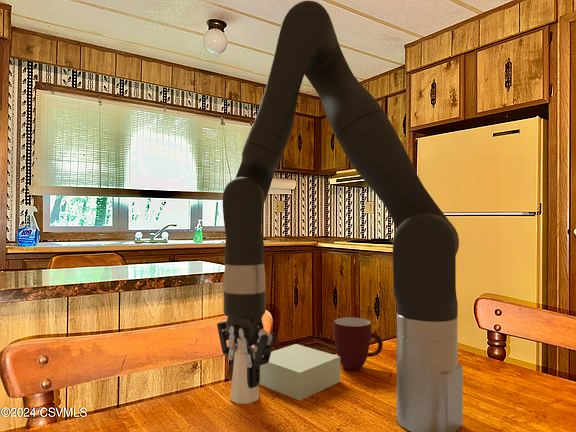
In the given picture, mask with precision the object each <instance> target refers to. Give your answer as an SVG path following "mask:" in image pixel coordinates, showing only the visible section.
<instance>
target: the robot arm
mask: <svg viewBox="0 0 576 432" xmlns="http://www.w3.org/2000/svg"><path fill="white" fill-rule="evenodd" d="M304 77H306V79H307V80H308V81H309V83H310V84H311V86H312V87H313V89H314V90H315V93H317V95H318V97H319V98H320V102H321V103H322V106H323V110H324V112H325V115H326V119H327V121H328V123H329V126H330V127H331V129H332V132H333V134H334V136H335V138H336V140H337V142H338V143H339V146H340V148H341V149H342V151H343V152H344V155H345V157H346V159H347V160H348V162H349V163H350V164H351V166H352V167H353V169H354V170H355V171H356V172H357V173H358V174H359V176H360V177H361V178H362V180H364V182H365V183H366V184H367V185H368V187H369V188H370V189H371V190H372V191H373V192H374V193H375V195H376V196H377V197H378V198H379V200H380V201H381V202H382V203H383V206H384V207H385V209H386V210H387V212H388V215H389V216H390V218H391V220H392V222H393V224H394V226H395V229H396V230H395V233H394V235H393V241H392V277H393V278H392V280H393V281H392V282H393V284H392V286H393V295H394V299H395V303H396V421H397V424H398V425H400V426H401V427H402V428H404V429H405V430H407V431H409V432H457V431H458V430H459V429H460V428H462V427H463V423H464V421H463V419H464V417H463V416H464V415H463V411H464V410H463V407H464V406H463V405H464V404H463V401H464V399H463V396H464V394H463V392H464V391H463V390H464V389H463V388H464V387H463V383H464V381H463V379H464V378H463V372H464V371H463V365H462V364H460V363H458V360H459V359H458V315H459V314H458V313H459V311H458V310H459V309H458V308H459V307H458V305H459V304H458V298H457V290H456V288H457V287H456V286H457V285H456V284H457V283H456V280H457V279H456V277H457V275H456V272H457V270H456V269H457V267H456V256H457V253H458V251H459V248H460V247H459V246H460V239H459V233H458V232H457V229H456V227H455V225H453V224H452V222H451V221H450V219H448V217H447V216H446V215H445V214H444V212H443V211H442V209H441V208H440V207H439V205H438V204H437V203H436V202H435V200H434V199H433V198H432V197H431V195H430V193H429V191H428V190H427V189H426V187H425V186H424V184H423V182H422V181H421V179H420V178H419V175H418V173H417V171H416V169H415V167H414V164H413V162H412V160H411V158H410V156H409V154H408V152H407V149H406V148H405V146H404V144H403V142H402V140H401V138H400V137H399V135H398V133H397V131H396V129H395V127H394V126H393V124H392V122H391V121H390V119H389V118H388V116H387V114H386V112H385V111H384V109H383V108H382V106H381V105H380V103H379V102H378V101H377V99H376V98H375V97H374V95H372V94H371V92H370V91H368V89H367V88H366V87H365V86H364V85H363V84H362V83H361V82H360V81H359V80H358V78H357V77H356V76H355V75H354V74H353V72H352V70H351V68H350V66H349V63H348V62H347V60H346V58H345V55H344V53H343V51H342V49H341V45H340V44H339V40H338V38H337V33H336V30H335V26H334V24H333V21H332V18H331V16H330V14H329V12H328V11H327V9H326V7H324V6H323V5H322V4H321V3H319V2H317V1H315V0H302V1H299V2H298V3H296V4H294V5H293V6H292V7H290V8H289V10H287V11H286V14H285V15H284V16H283V19H282V22H281V25H280V29H279V33H278V38H277V42H276V46H275V52H274V56H273V60H272V64H271V67H270V72H269V74H268V78H267V81H266V86H265V89H264V92H263V95H262V98H261V102H260V103H259V107H258V110H257V112H256V115H255V119H254V121H253V123H252V125H251V128H250V131H249V133H248V136H247V139H246V141H245V143H244V146H243V149H242V153H241V163H240V166H239V168H238V170H237V173H236V175H235V178H233V179H231V180H230V181H229V182H228V183H227V184H226V186H225V187H224V189H223V194H222V215H223V222H224V223H223V225H224V231H225V242H224V243H225V245H224V246H225V248H224V249H225V250H224V256H225V257H224V263H225V264H224V273H223V314H224V315H225V317H227V319H226V320H224V321H220V322H217V324H216V327H217V333H218V337H219V341H220V342H219V343H220V346H221V351H222V352H221V353H222V354H223V356H225V355H227V357H228V360H229V361H230V378H231V379H230V380H231V381H232V375H233V364H234V355H235V351H236V350H238V349H237V348H238V346H237V343H238V342H237V338H240V339H241V342H242V348H243V353H244V354H245V355H246V359H247V365H248V367H247V383H248V387H249V388H254V387H256V386H258V387H259V385H260V384H259V382H260V365H263V364H266V363H268V362H269V359H270V355H271V352H272V351H273V347H274V343H275V339H276V334H275V332H268V331H267V330H266V329H264V327H265V325H264V324H263V323H264V322H263V316H264V315H265V313H266V270H265V241H264V235H263V233H262V231H263V229H262V228H263V226H262V224H263V207H264V205H265V202H266V201H267V197H268V195H269V192H270V188H271V185H272V183H273V178H274V175H275V173H276V170H277V167H278V165H279V164H280V162H281V160H282V157H283V155H284V152H285V150H286V147H287V145H288V142H289V139H290V137H291V133H292V130H293V127H294V123H295V122H294V121H295V117H296V110H297V106H298V105H297V104H298V99H299V95H300V89H301V87H302V83H303V80H304ZM227 341H228V342H227ZM249 346H253V347H252V348H249ZM253 352H254V354H255V359H253V356H252V353H253Z"/></svg>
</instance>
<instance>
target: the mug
mask: <svg viewBox="0 0 576 432" xmlns="http://www.w3.org/2000/svg"><path fill="white" fill-rule="evenodd" d="M333 339H334V344H335V352H336V355H337V356H340V365H341V366H342V368H343V369H345V370H346V371H350V372H351V371H352V372H356V371H360V370H361V369H363V367H364V365H365V363H366V361H367V360H368V359H367V358H371V357H375V356H377V355H378V356H379V354H381V352H382V350H383V344H384V343H383V341H382V337H381V336H380V335H379V334H378V333H376V332H372V322H371V320H368V319H366V318H362V317H355V316H354V317H351V316H349V317H348V316H347V317H339V318H336V319H334V320H333ZM372 339H375V340H376V342H377V345H378V346H377V348H376V350H375V351H372V352H369V349H370V344H371V340H372Z"/></svg>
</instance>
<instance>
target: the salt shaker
mask: <svg viewBox="0 0 576 432" xmlns="http://www.w3.org/2000/svg"><path fill="white" fill-rule="evenodd" d="M237 342H238V343H237V346H238V348H237V349H238V350H237V349H236V351H235V355H234V364H233V375H232V380H231V388H230V398H229V400H230V401H231V402H233V403H236V404H237V405H249V404H253V403H254V402H257V401H258V400H259V396H260V392H259V391H260V390H259V385H258V386H256V387H254V388H249V387H248V383H247V367H248V365H247V359H246V355H245V354H244V353H243V348H242V342H241V339H240V338H237ZM252 346H253V345H252ZM252 346H249V348H252ZM252 356H253V359H255V354H254V352H253V353H252Z"/></svg>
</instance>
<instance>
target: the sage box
mask: <svg viewBox="0 0 576 432" xmlns="http://www.w3.org/2000/svg"><path fill="white" fill-rule="evenodd" d="M340 382H341V363H340V356H337V354H332V353H329V352H326V351H322V350H319V349H315V348H311V347H308V346H304V345H302V344H297V343H294V344H292V345H289V346H285V347H282V348H279V349H276V350H272V351H271V355H270V359H269V362H268V363H266V364H263V365H260V382H259V384H258V385H260V386H263V387H265V388H267V389H270V390H272V391H275V392H278V393H279V394H282V395H284V396H287V397H289V398H291V399H294V400H297V401H300V402H301V401H302V400H304V399H306V398H309V397H312V396H313V395H316V394H317V393H319V392H321V391H324V390H325V389H327V388H330V387H332V386H334V385H337V384H338V383H340Z"/></svg>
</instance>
